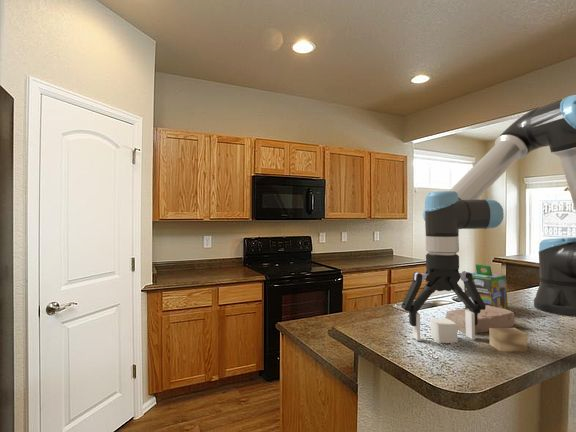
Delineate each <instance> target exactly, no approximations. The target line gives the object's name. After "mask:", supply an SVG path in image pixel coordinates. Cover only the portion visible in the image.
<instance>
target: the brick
mask: <svg viewBox="0 0 576 432" xmlns="http://www.w3.org/2000/svg"><path fill="white" fill-rule="evenodd" d="M465 310H469V309H465V308H458V309H452V310H447V311H446V314H445V319H449V320H451V321H453V322H454V323H456V324H457V331H458V330H459V331H458V332H460V331H461V332H460V333H462V332H463V334H465V335H466V323H465ZM480 311H481V312H480V313H478V323H477V325H475V334H478V332H479V333H487V332H489V328H513V326H514V325H515V312H513V311H512V310H509V309H508V310H506V309H501V308H497V307H493V306H489V305H487V306H486V308H485V310H480Z"/></svg>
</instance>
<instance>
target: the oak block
mask: <svg viewBox="0 0 576 432" xmlns="http://www.w3.org/2000/svg"><path fill="white" fill-rule="evenodd" d="M488 332H489V337H488V338H489V345H490V346H492V347H493V348H495V349H496V350H498V351H499V352H527V351H528V333H526V332H524V331H522V330H520V329H518V328H516V327H509V328H489V331H488Z"/></svg>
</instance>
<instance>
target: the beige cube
mask: <svg viewBox="0 0 576 432" xmlns="http://www.w3.org/2000/svg"><path fill="white" fill-rule="evenodd" d="M429 320H430V321H429V322H430V337H431V338H432V339H434V340H435V341H436V342H437V343H438V344H448V343H449V344H450V343H453V344H454V342H455V343H458V341H459V340H458V339H459V338H458V330H457V324H456V323H454V322H453V321H451V320H449V319H446V318H430V319H429Z"/></svg>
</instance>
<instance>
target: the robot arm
mask: <svg viewBox="0 0 576 432" xmlns="http://www.w3.org/2000/svg"><path fill="white" fill-rule="evenodd" d="M544 147H549V150H550V152H551V154H553V155H555V156H557V157H558V158H559V159H560V162H561V166H562V169H563V172H564V177H565V180H566V183H567V186H568V189H569V193H570V197H571V199H572V202H573V207H574V210H575V211H576V94H573V95H568V96H566V97H565V98H562V99H560V100H559V99H558V100H556V101H554V102H551V103H547V104H546V105H543V106H541V107H536V108H534V109H531V110H529V111H528V112H526V113H525V114H523V115H521V116H519V118H517V119H516V120H515V121H514V122H513V123H512V124H510V125H509V126H508V127H507V128H506V129H505V130H504V131H503V132H502V133H501V134H500V135H499V136H498V137H497V138H496V139H495V141H494V146H493V147H492V148H491V149H489V151H488V152H486V154H485V155H484V156H483V157H482V158H480V159H479V160H478V161H477V163H476V164H475V165H473V167H471V168H470V169H469V170H468V172H466V173H465V175H463V177H461V179H459V180H458V181H457V183H455V184H454V186H452V187H451V189H449V190H444V191H443V190H442V191H441V190H440V191H430V192H428V193H427V194H426V195H425V198H424V199H425V200H424V208H423V212H422V216H423V221H424V222H425V224H424V225H425V226H424V227H425V251H426V252H428V253H426V254H425V269H426V271H425V273H419V272H418V271H415V272H413V274H412V275H413V277H412V282H411V284H410V286H409V289H408V291H407V293H406V294H405V297H404V299H403V301H402V303H401V305H400V306H401V309H403V310H404V311H405V312H408V322H409V325H410V326H412V337H413V338H414V340H416V341H417V342H421V314H420V313H419V312H418V311H419V310H420V309H421V308H422V307H423V305H424V304H425V303H426V301H427V300H428V299H429V298H430V296H431V295H433V294H434V293H435V292H436V291H437V292H444V291H445V292H451V291H453V293H455V295H456V296H457V297H458V298H459V299H460V301H461V302H462V303H463V304H464V306H465V305H466V306H467V308H468V309H469V310H465V323H466V334H465V337H467V338H469V339H470V340H473V341H474V340H476V333H475V325H477V323H478V313H480V312H481V311H480V310H485V308H486V306H485V304H484V302H483V300H482V298H481V297H480V295H479V293H478V291H477V289H476V287H475V285H474V283H473V278H472V274H471V273H472V272H468V271H462V272H459V271H460V256H459V255H458V254H457V253H459V252H460V243H459V236H460V235H459V232H460V230H475V229H477V230H487V229H494V228H497V227H498V226H500V225H501V223H502V222H503V221H504V208H503V206H502V205H501V204H500V202H498V201H497V200H494V199H486V198H484V199H479V198H480V197H482V196H483V195H484V193H486V192H487V191H488V190H489V188H491V186H493V185H494V183H496V182H497V180H498V179H499V178H500V177H501V176H503V175H504V173H505V172H507V171H508V169H509V168H511V166H513V164H514V163H515V162H516V161H519V160H522V159H524V158H525V157H526V156H527V155H528V154H530V153H531V152H533V151H535V150H538V149H540V148H544ZM538 247H539V248H538V260H539V261H538V262H539V266H538V267H539V268H538V269H539V286H538V288H537V292H536V293H535V297H534V299H533V307H534V308H535V309H537V310H540V311H543V312H547V313H551V314H557V315H562V316H569V317H576V237H562V238H544V239H543V240H541V241H540V242H539V245H538ZM425 280H426V281H427V282H426V283H425V285H424V286H423V288H422V290H421V292H420V293H419V294H418V292H419V291H420V288H421V285H422V283H423V282H424V281H425ZM460 280H461V281H462V282H463V286H464V285H465V286H466V288H467V290H468V292H469V294H470V296H471V298H472V300H473V302H474V303H473V302H472V301H471V300H470V299H469V297H468V296H467V295H466V294H465V292H464V291H463V288H462V287H461V286H460V284H458V283H459V281H460ZM417 294H418V295H417Z"/></svg>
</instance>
